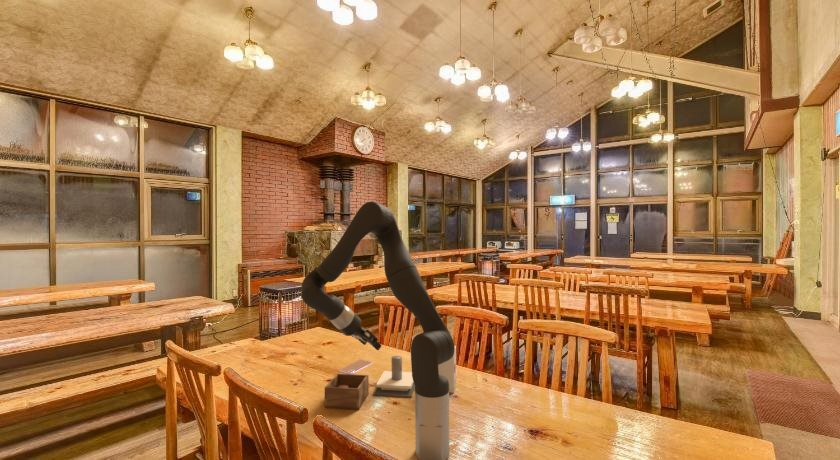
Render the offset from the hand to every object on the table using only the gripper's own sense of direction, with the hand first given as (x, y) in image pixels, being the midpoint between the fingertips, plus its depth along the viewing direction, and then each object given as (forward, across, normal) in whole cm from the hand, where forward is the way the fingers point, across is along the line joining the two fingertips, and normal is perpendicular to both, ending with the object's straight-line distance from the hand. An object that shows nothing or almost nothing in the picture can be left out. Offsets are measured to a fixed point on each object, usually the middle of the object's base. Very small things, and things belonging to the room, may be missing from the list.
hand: (372, 345), depth 138 cm
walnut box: (+6, +2, +19) cm, 21 cm away
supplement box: (+30, -13, -4) cm, 33 cm away
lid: (+20, 0, +5) cm, 21 cm away
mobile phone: (+21, +28, +6) cm, 35 cm away
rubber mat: (+21, 0, +5) cm, 21 cm away
